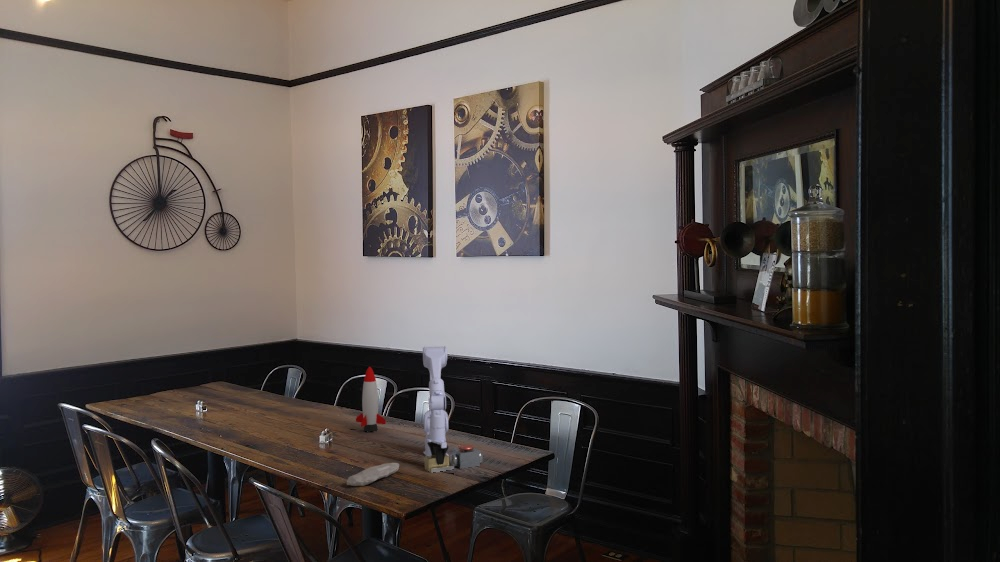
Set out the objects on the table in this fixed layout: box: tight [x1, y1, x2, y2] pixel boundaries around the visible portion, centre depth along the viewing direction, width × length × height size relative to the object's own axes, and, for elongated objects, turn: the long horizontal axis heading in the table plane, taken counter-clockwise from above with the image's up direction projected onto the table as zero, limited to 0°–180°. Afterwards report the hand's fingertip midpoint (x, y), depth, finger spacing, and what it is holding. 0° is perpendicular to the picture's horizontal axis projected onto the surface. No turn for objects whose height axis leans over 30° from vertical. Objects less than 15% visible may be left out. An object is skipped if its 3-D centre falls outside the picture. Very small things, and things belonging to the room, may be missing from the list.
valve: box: [430, 443, 484, 474], centre depth 265 cm, size 8×22×7 cm, turn 114°
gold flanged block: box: [424, 454, 450, 473], centre depth 262 cm, size 5×8×5 cm, turn 114°
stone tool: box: [346, 462, 400, 487], centre depth 251 cm, size 12×5×25 cm
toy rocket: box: [355, 366, 387, 433], centre depth 325 cm, size 11×11×30 cm
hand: (438, 462), depth 263 cm, fingers closed on gold flanged block, 4 cm apart
